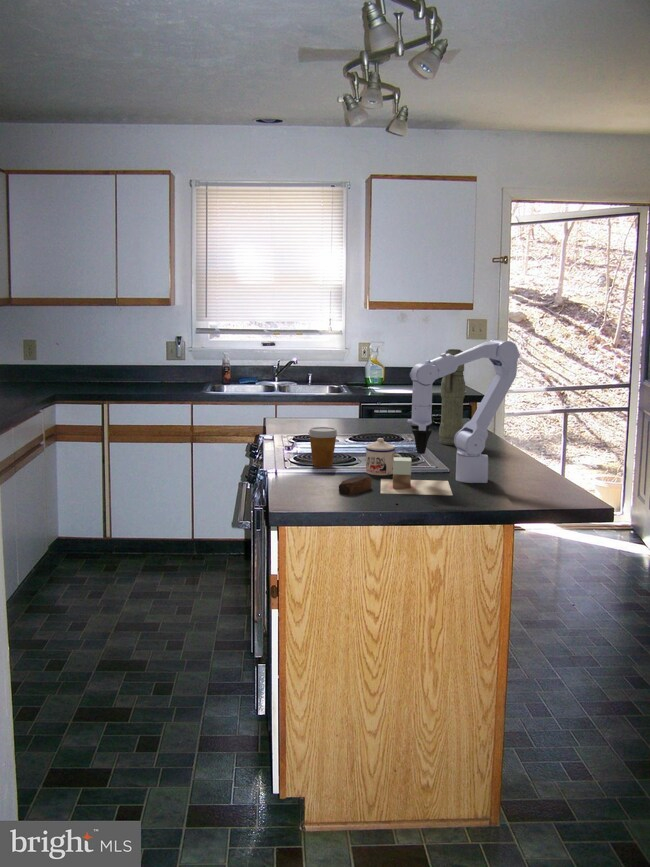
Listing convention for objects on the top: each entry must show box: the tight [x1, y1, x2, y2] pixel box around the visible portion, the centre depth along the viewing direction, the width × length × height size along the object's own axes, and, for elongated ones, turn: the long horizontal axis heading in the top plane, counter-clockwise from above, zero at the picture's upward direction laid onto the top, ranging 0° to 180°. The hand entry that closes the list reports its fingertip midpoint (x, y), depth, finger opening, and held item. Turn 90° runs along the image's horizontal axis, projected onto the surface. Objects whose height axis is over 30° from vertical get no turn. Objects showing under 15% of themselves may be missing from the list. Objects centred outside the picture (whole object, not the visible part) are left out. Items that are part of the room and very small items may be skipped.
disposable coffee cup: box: [308, 426, 339, 468], centre depth 282 cm, size 10×10×12 cm
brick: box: [338, 474, 372, 496], centre depth 244 cm, size 11×4×5 cm, turn 142°
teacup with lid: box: [365, 437, 403, 476], centre depth 268 cm, size 12×9×12 cm
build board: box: [380, 478, 453, 496], centre depth 250 cm, size 20×18×1 cm
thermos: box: [438, 348, 466, 446], centre depth 323 cm, size 9×12×35 cm
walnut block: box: [392, 474, 412, 489], centre depth 250 cm, size 5×5×4 cm
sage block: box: [392, 456, 412, 476], centre depth 250 cm, size 5×5×4 cm
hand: (420, 451), depth 255 cm, fingers open, 7 cm apart
